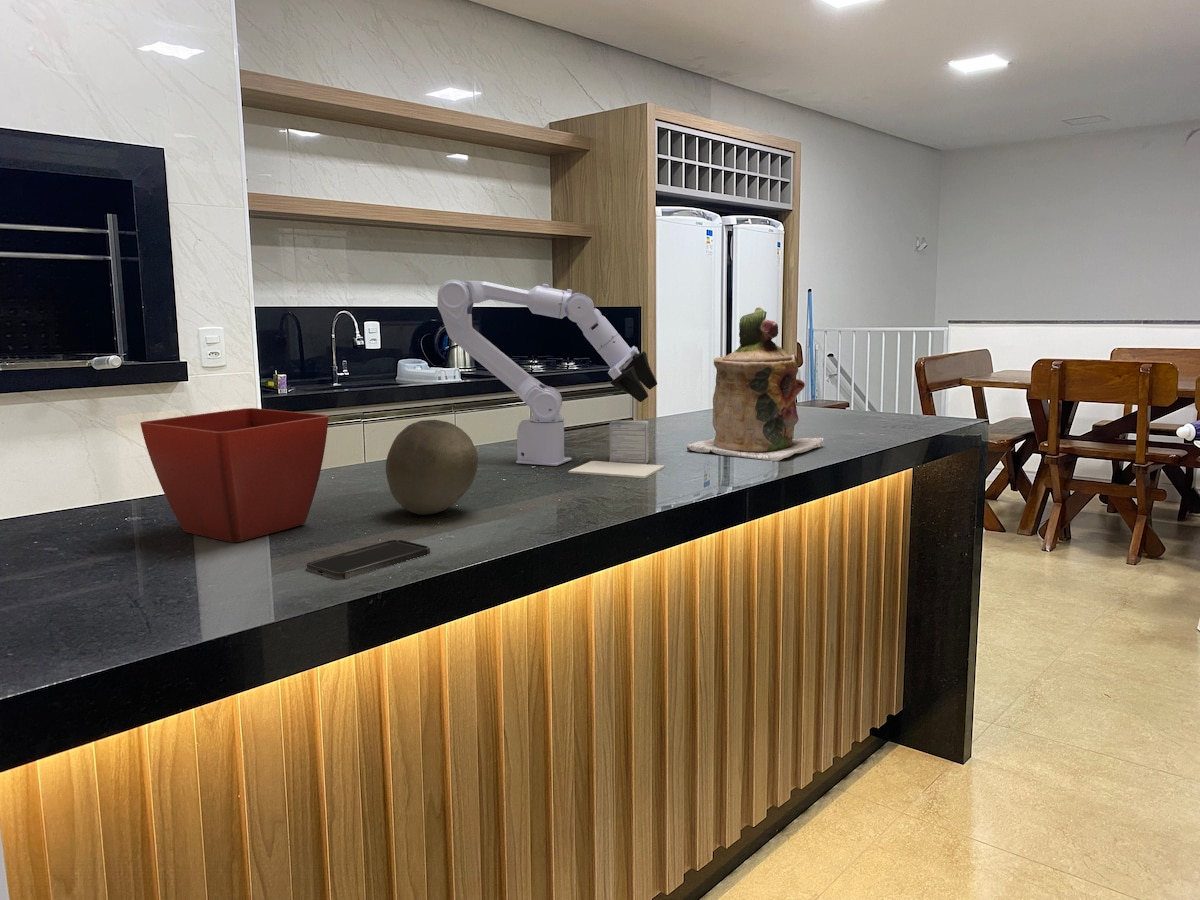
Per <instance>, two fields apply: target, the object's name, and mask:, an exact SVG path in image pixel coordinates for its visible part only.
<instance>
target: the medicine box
mask: <svg viewBox="0 0 1200 900" xmlns="http://www.w3.org/2000/svg"><path fill="white" fill-rule="evenodd" d="M649 423H650V421H648V420H640V419H639V420H635V419H633V420H629V419H627V420H620V419H619V420H615V419H614V420H612V421H610V422H609V462H618V463H633V464H648V463H649V459H650V456H649V455H650V454H649V453H650V452H649V449H650V448H649V446H650V445H649V443H650V442H649V438H650V437H649V432H650V431H649V429H650V428H649Z"/></svg>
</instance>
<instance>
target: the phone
mask: <svg viewBox="0 0 1200 900" xmlns="http://www.w3.org/2000/svg"><path fill="white" fill-rule="evenodd" d="M429 553H430V554H431V547H430V546H428V545H424V544H420V543H415V542H411V541H406V540H402V539H392V540H387V541H383V542H380V543H376V544H372V545H369V546H368V545H367V546H364V547H361V548H357V549H352V550H348V551H344V552H341V553H337V554H334V555H330V556H327V557H323V558H319V559H315V560H312V561H308V562H306V570H307V571H309V572H311V571H312V572H311V573H314V572H315V573H314V574H317V573H318V575H321V574H322V575H321V576H324V575H325V576H324V577H328V576H329V577H328V578H331V577H332V578H331V579H334V578H336V579H335V580H346V579H350V577H351V578H354V577H358V576H360V574H361V575H364V574H363V573H365V574H367V573H366V572H368V573H371V572H374V571H373V570H375V571H377V570H376V569H378V570H381V569H380V568H382V569H384V567H385V568H387V566H388V567H391V566H390V565H392V566H394V564H395V565H398V564H397V563H399V564H401V563H400V562H402V563H404V562H403V561H405V562H407V561H406V560H409V561H411V560H410V559H412V560H414V559H413V558H416V559H418V558H417V557H419V558H421V557H420V556H422V557H425V556H424V555H426V556H428V555H427V554H429ZM430 554H429V555H430ZM370 571H371V572H370ZM357 575H358V576H357ZM353 576H354V577H353Z"/></svg>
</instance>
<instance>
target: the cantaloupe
mask: <svg viewBox="0 0 1200 900" xmlns="http://www.w3.org/2000/svg"><path fill="white" fill-rule="evenodd" d="M478 454H479V453H478V450H477V449H476V447H475V445H474V443H473V440H472V439H471V437H470V436H469V435H468V434H467V432H465V431H464V430H463V429H462V428H460V427H459V426H458V425H456V424H454V423H451V422H448V421H445V420H444V421H443V420H440V419H425V420H423V419H422V420H419V421H416V422H413V423H411V424H409V425H407V426H406V427H405V428H404V429H402V430H401V431H400V432H399V433H398V434H397V435H396V437H395V438H394V440H393V441H392V443H391V446H390V448H389V451H388V454H387V456H386V460H385V473H386V474H385V475H386V480H387V484H388V487H389V490H390V494H391V495H392V497H393V498H394V500H395V502H397V504H398V505H400V506H401V508H403V509H405V510H407V511H409V512H411V513H414V514H416V515H421V516H428V515H434V514H438V513H440V512H441V513H442V512H444V511H445V510H447V509H449V508H450V507H453V506H454V505H455V504H456V503H457V502H458V501H459V500H460V499H462V497H463V496H464V495H465V494H466V493H467V492H468V491H469V489H470V488H471V486H472V484H473V483H474V480H475V477H476V475H477V472H478V467H479V455H478Z"/></svg>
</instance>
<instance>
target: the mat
mask: <svg viewBox="0 0 1200 900" xmlns="http://www.w3.org/2000/svg"><path fill="white" fill-rule="evenodd" d="M664 468H666V466H665V465H660V464H648V463H647V464H633V463H618V462H610V461H602V460H601V461H600V460H599V461H598V460H590V461H588V462H586V463H583V464H581V465H579V466H576V467H574V468H572V469H570V470H568V471H567V473H568V474H579V475H581V474H582V475H595V476H606V477H607V476H608V477H623V478H634V479H636V478H637V479H646V478H649V477H650V476H652V475H653V474H655V473H658V472H659V471H661V470H663V469H664Z"/></svg>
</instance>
